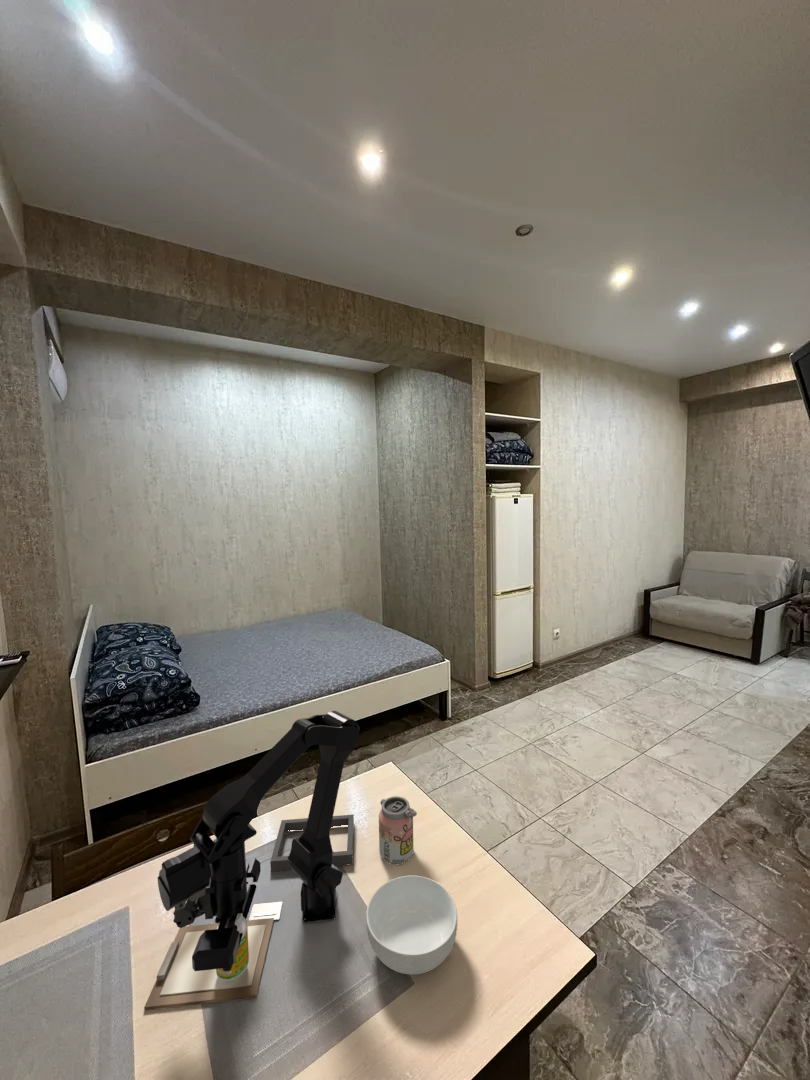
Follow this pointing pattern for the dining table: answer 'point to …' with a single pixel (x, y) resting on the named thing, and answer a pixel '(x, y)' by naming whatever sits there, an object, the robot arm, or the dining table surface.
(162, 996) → the clipboard
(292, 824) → the empty rectangular frame
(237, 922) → the supplement bottle
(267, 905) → the letter card
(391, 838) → the beverage can
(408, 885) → the cereal bowl
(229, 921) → the robot arm
